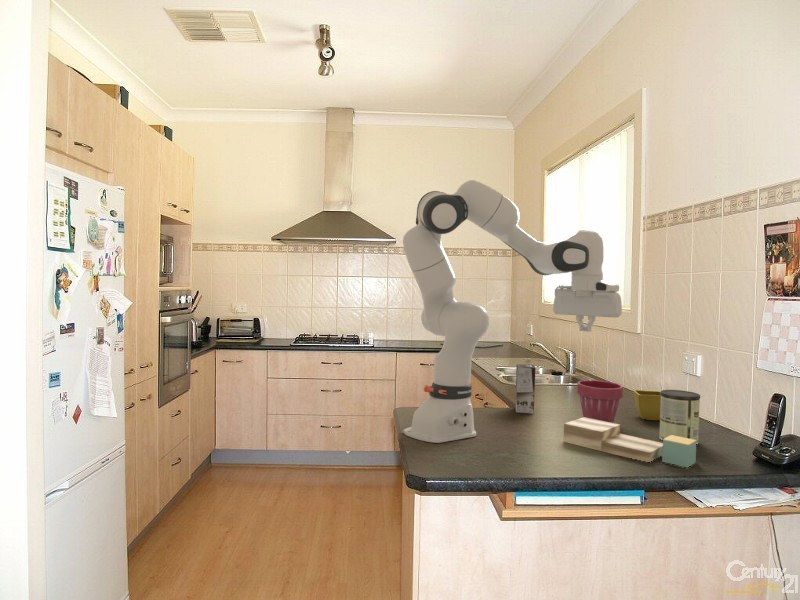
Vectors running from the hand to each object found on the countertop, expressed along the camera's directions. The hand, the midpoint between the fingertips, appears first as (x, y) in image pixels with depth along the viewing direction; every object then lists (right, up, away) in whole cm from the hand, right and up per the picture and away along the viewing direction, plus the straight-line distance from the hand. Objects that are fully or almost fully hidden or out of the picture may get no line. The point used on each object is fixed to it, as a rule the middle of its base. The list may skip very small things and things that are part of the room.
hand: (585, 331), depth 156 cm
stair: (+3, -32, -12) cm, 34 cm away
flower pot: (+30, -32, +22) cm, 49 cm away
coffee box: (-11, -30, +30) cm, 44 cm away
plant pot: (+10, -31, +15) cm, 36 cm away
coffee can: (+26, -32, -4) cm, 41 cm away
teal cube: (+15, -26, -24) cm, 39 cm away
